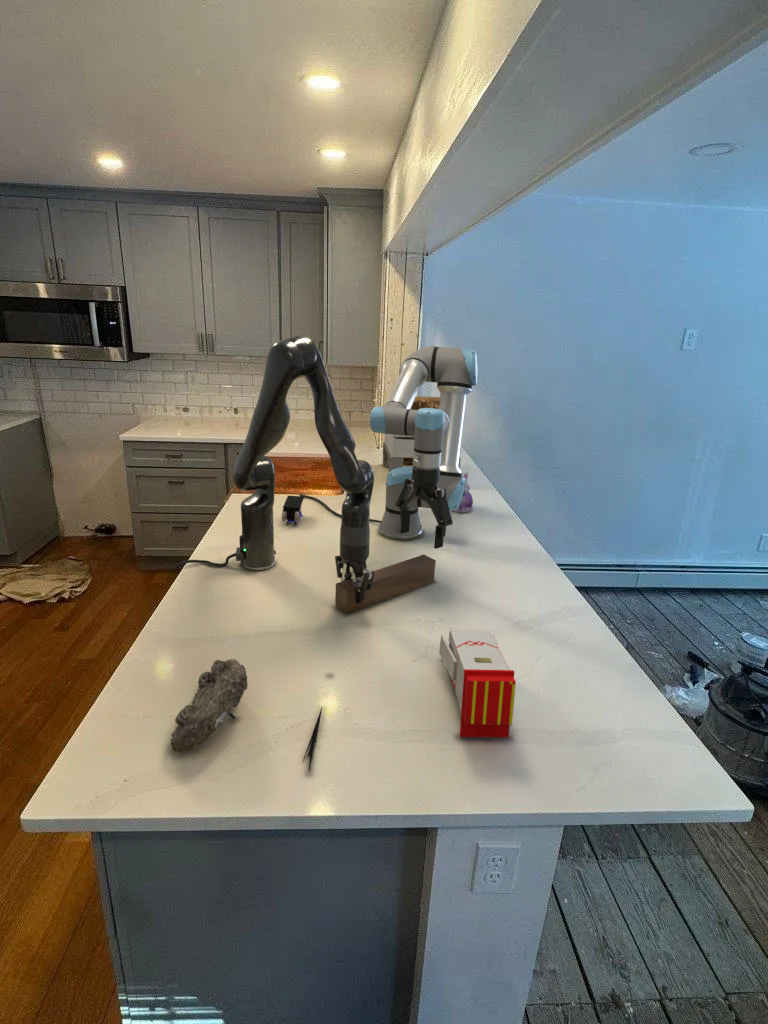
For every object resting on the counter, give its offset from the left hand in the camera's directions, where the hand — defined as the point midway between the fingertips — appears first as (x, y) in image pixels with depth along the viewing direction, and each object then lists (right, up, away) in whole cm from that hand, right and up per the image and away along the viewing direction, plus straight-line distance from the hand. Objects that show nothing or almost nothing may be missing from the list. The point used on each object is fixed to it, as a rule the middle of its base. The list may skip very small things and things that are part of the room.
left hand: (353, 598), depth 149 cm
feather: (-4, -17, -41) cm, 44 cm away
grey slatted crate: (+25, +42, +126) cm, 135 cm away
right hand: (+19, +15, +11) cm, 26 cm away
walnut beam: (+9, 0, +8) cm, 12 cm away
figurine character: (-25, +20, +58) cm, 66 cm away
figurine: (+39, +24, +78) cm, 91 cm away
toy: (+26, -15, -31) cm, 43 cm away
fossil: (-24, -16, -41) cm, 50 cm away
